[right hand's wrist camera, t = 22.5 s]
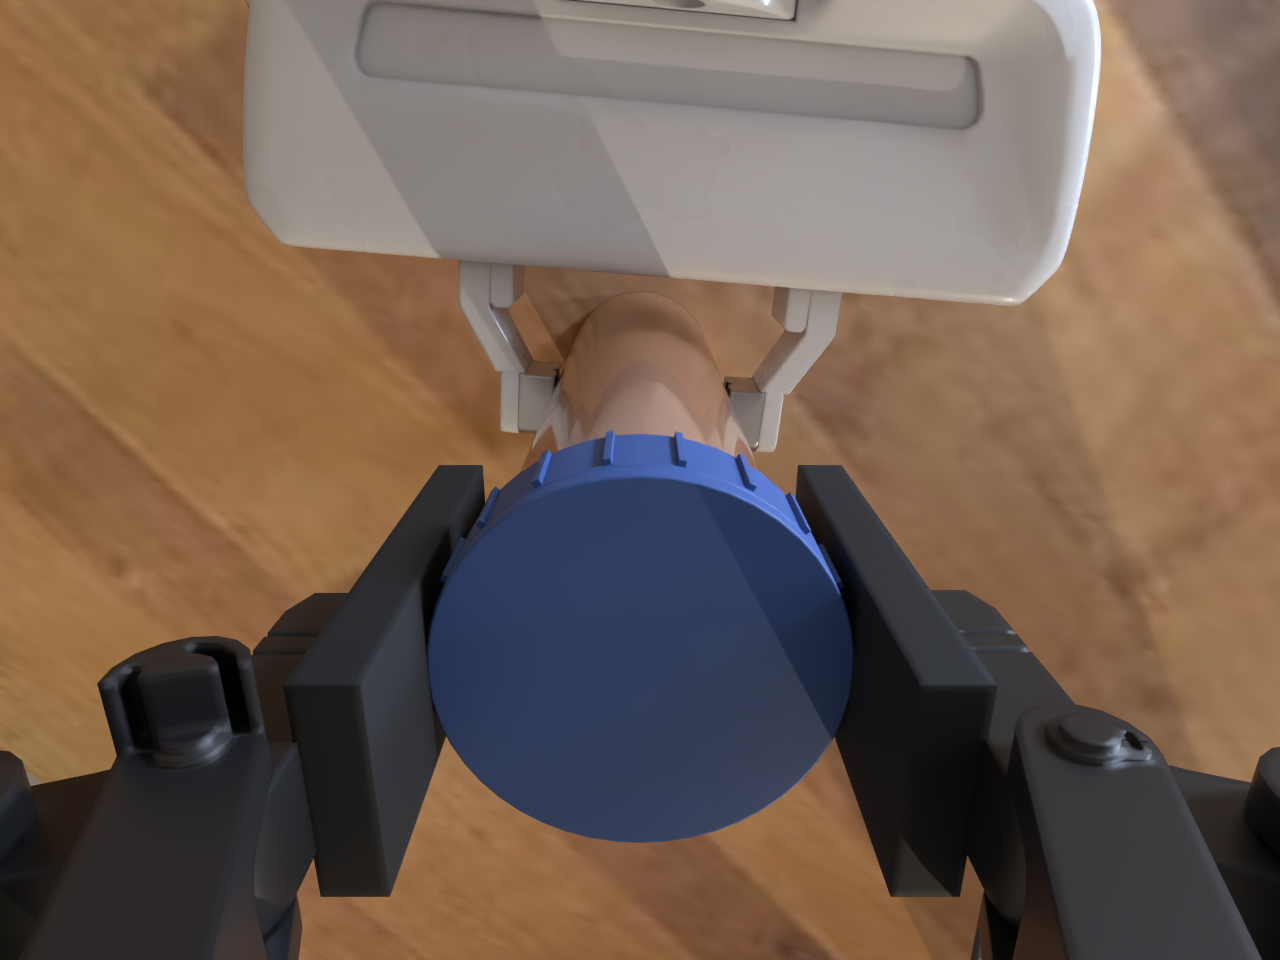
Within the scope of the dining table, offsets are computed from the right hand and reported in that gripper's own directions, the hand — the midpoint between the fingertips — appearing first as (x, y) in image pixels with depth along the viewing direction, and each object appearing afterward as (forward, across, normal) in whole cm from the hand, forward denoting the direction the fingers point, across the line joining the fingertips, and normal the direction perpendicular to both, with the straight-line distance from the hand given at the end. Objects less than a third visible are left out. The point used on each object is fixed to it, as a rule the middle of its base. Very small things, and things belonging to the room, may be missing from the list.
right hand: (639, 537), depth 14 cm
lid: (-4, 0, 0) cm, 4 cm away
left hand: (+9, 0, -1) cm, 9 cm away
